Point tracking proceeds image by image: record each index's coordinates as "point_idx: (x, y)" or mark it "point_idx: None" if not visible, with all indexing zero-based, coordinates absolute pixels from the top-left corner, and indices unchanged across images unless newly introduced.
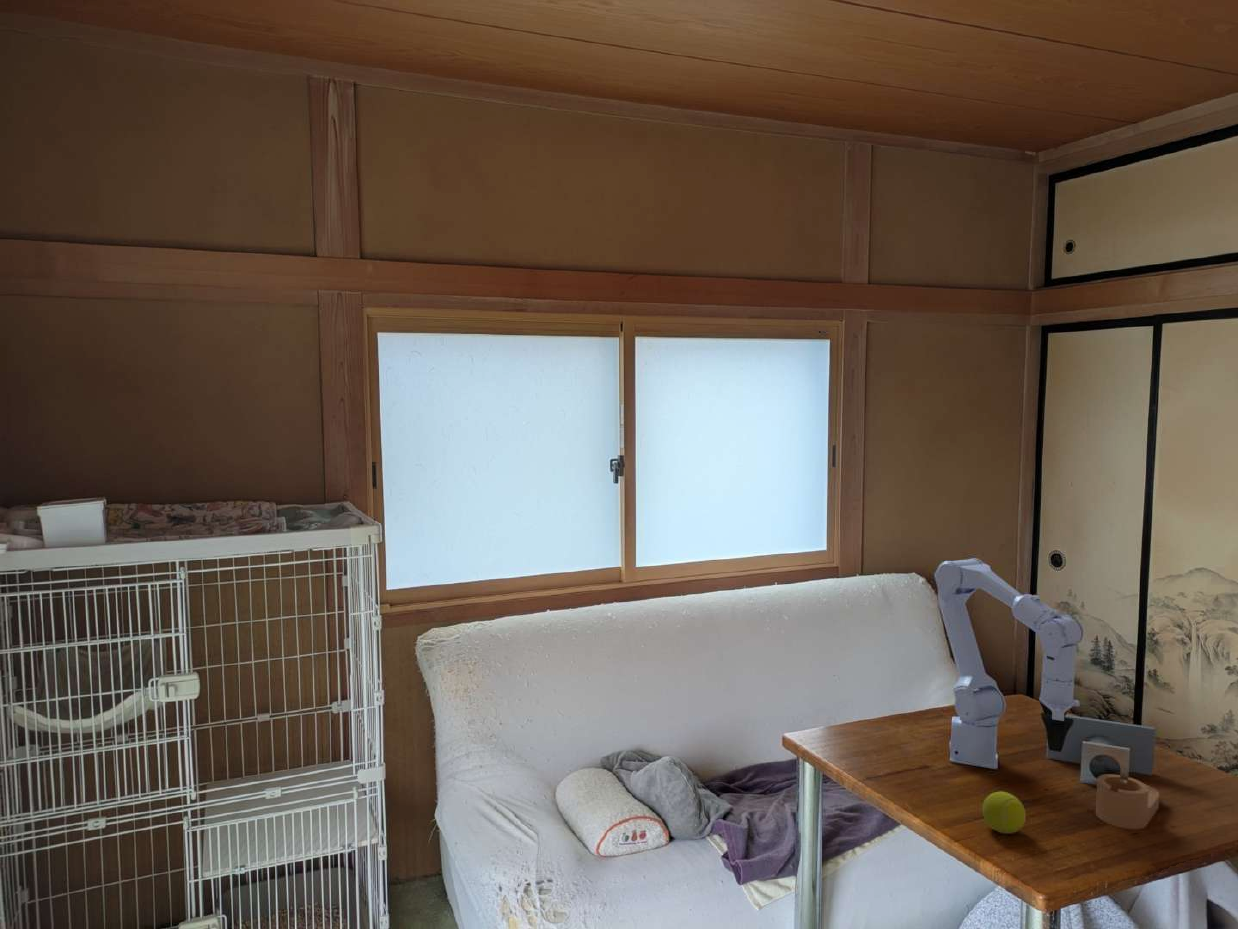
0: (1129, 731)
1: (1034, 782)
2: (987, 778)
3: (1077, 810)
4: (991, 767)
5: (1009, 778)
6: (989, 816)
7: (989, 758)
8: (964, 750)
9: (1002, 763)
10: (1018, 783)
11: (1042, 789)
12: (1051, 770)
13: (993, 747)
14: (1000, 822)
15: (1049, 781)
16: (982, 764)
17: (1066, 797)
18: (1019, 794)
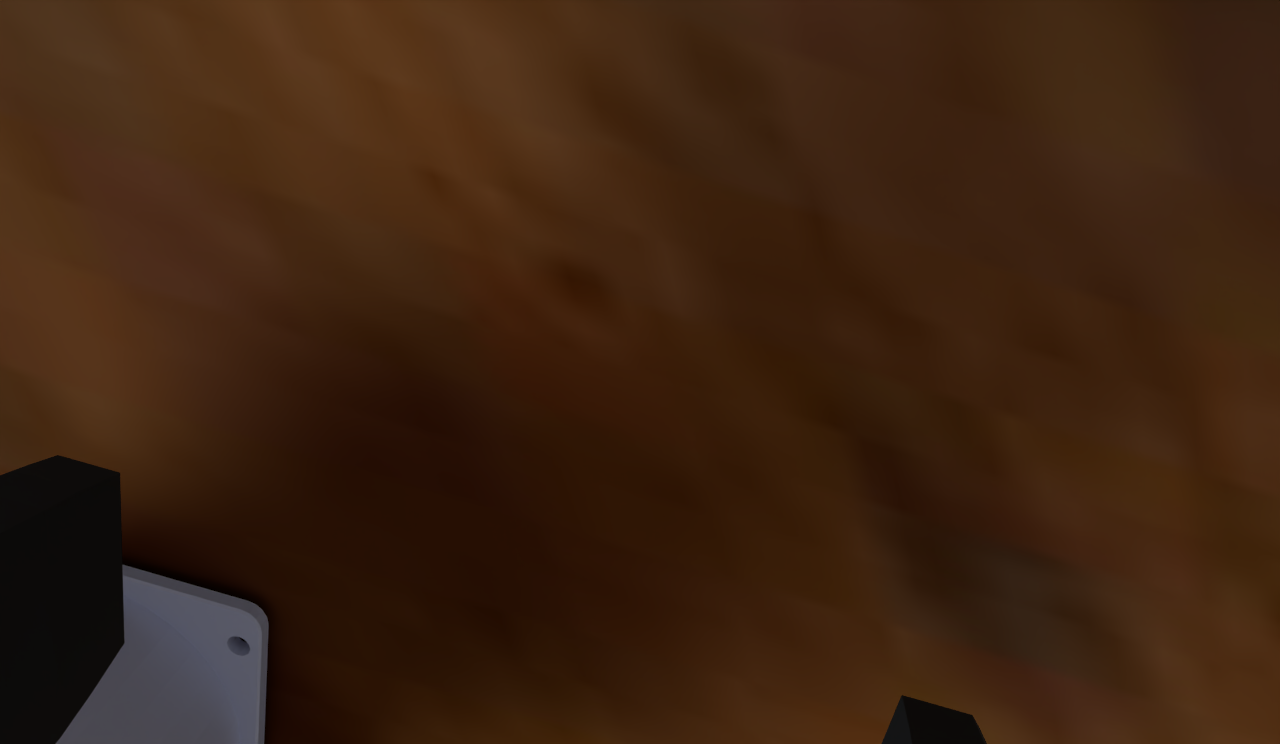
0: None
1: (427, 346)
2: (486, 724)
3: (1122, 96)
4: (262, 654)
5: (415, 550)
6: None
7: (170, 697)
8: None
9: None
10: (510, 507)
11: (591, 320)
12: (5, 53)
13: (64, 742)
14: None
15: (338, 175)
16: (239, 713)
17: (749, 114)
18: (783, 579)
